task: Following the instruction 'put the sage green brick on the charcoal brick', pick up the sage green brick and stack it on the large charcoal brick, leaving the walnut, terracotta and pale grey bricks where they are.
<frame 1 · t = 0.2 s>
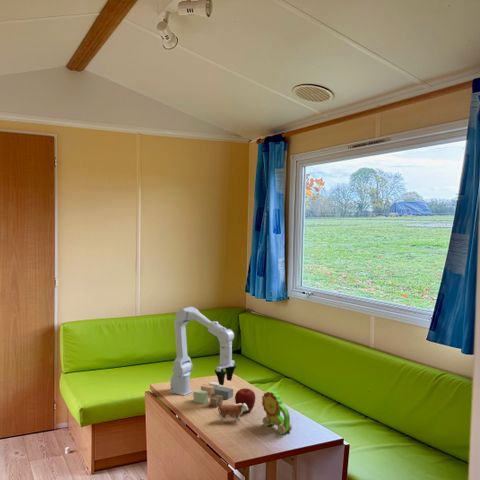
hand: (225, 382, 240), 10 cm above the table, tool pointing down, fingers open, 7 cm apart
bull figurine: (233, 421, 219), on the table
apple: (244, 411, 231), on the table
terracotta brick: (207, 393, 253), on the table
toy lion: (275, 428, 213), on the table
sage brick: (200, 401, 242), on the table
walnut brick: (216, 405, 237), on the table
pale grey brick: (215, 390, 257), on the table
charcoal brick: (223, 396, 249), on the table
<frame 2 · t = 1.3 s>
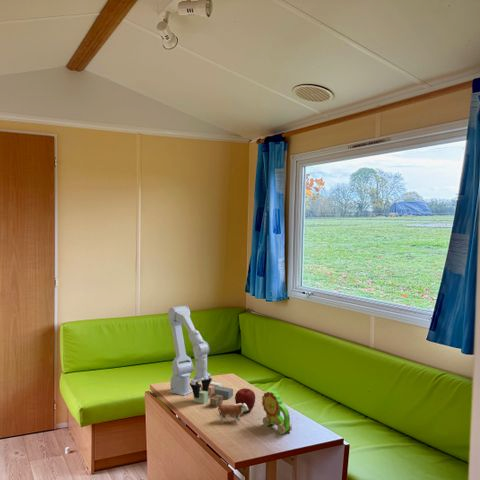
hand: (200, 395, 241), 3 cm above the table, tool pointing down, fingers open, 7 cm apart
nothing on the table moved.
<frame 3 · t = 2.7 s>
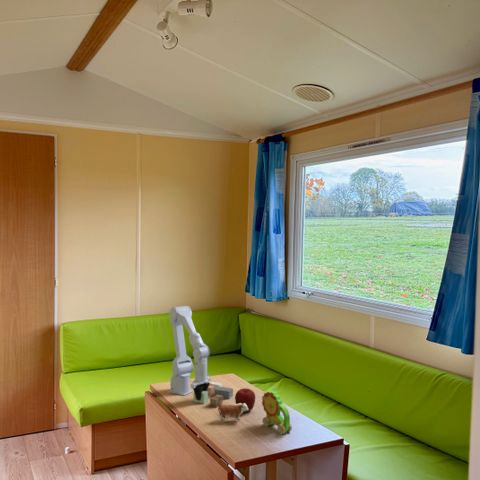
hand: (200, 398, 241), 1 cm above the table, tool pointing down, fingers closed on sage brick, 3 cm apart
sage brick: (200, 401, 242), on the table, touching gripper
everything else where it was.
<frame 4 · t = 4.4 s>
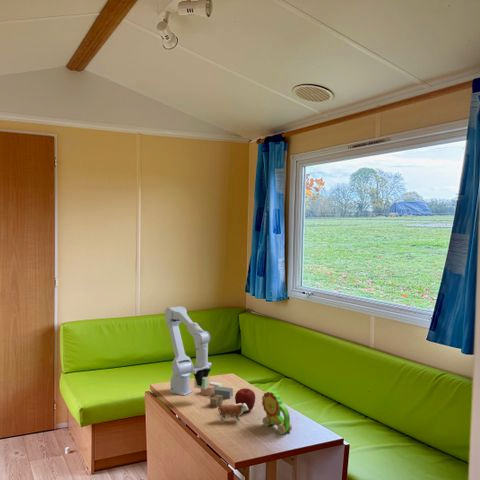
hand: (201, 384, 241), 8 cm above the table, tool pointing down, fingers closed on sage brick, 3 cm apart
sage brick: (201, 387, 241), point 7 cm above the table, touching gripper
everything else where it was.
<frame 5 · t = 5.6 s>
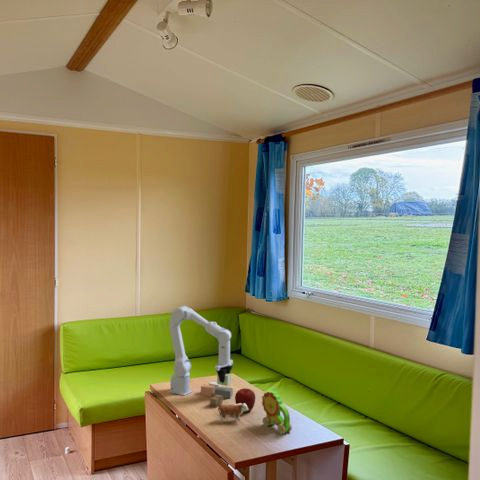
hand: (223, 381, 249), 8 cm above the table, tool pointing down, fingers closed on sage brick, 3 cm apart
sage brick: (224, 384, 249), point 6 cm above the table, touching gripper
everything else where it was.
when the fingers open (7 cm above the table, at t = 6.5 s): sage brick drops 2 cm, point 4 cm above the table.
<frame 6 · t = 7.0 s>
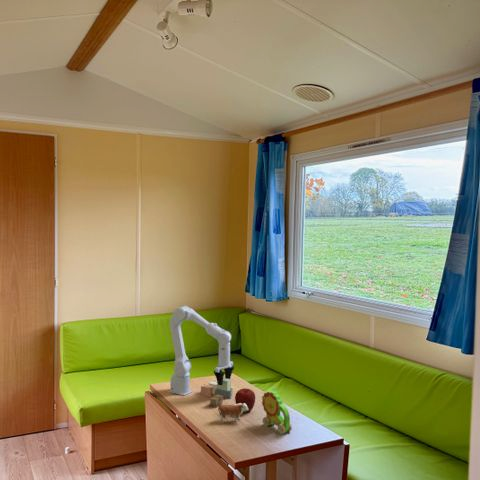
hand: (223, 382, 249), 7 cm above the table, tool pointing down, fingers open, 7 cm apart
sage brick: (223, 389, 249), point 4 cm above the table
everything else where it was.
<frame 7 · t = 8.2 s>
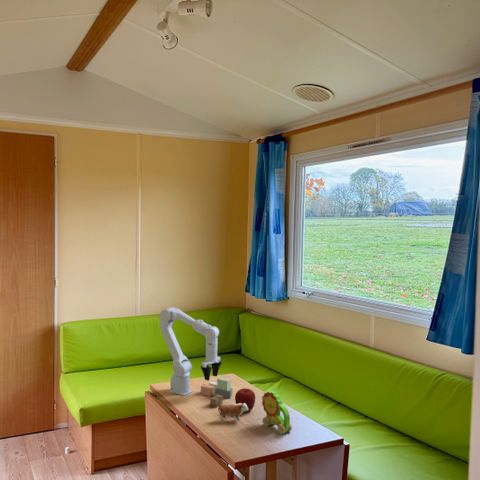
hand: (211, 378, 248), 9 cm above the table, tool pointing down, fingers open, 7 cm apart
sage brick: (223, 388, 249), point 4 cm above the table, touching charcoal brick
charcoal brick: (223, 396, 249), on the table, touching sage brick
everything else where it was.
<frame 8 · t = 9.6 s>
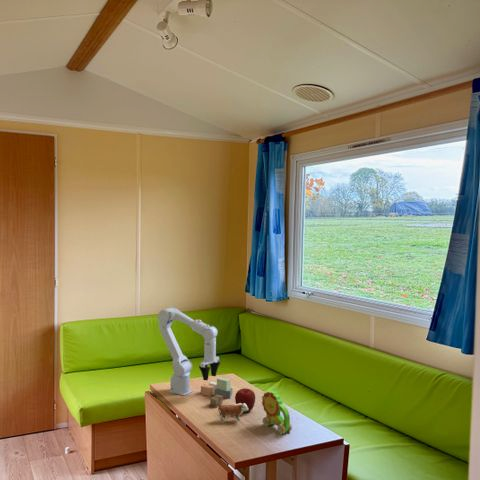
hand: (209, 378, 248), 9 cm above the table, tool pointing down, fingers open, 7 cm apart
sage brick: (223, 388, 249), point 4 cm above the table
charcoal brick: (223, 396, 249), on the table
everything else where it was.
at the end: sage brick 0.1 cm off-centre on the charcoal brick, point 4.0 cm above the charcoal brick's base; walnut brick moved 0.2 cm from its start; terracotta brick moved 0.2 cm from its start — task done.
